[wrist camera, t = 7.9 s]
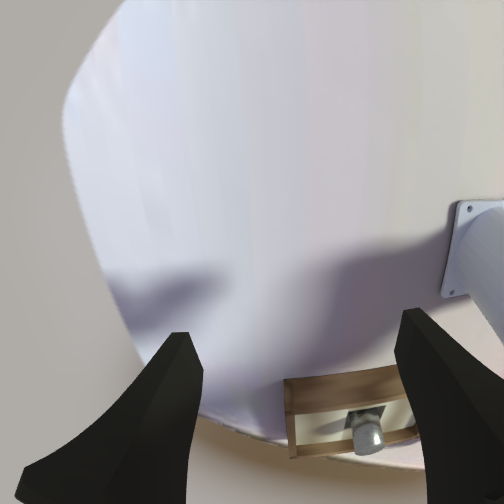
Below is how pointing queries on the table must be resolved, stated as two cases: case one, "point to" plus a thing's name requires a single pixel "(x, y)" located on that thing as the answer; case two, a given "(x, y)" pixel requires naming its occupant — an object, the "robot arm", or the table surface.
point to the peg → (366, 431)
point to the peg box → (344, 410)
